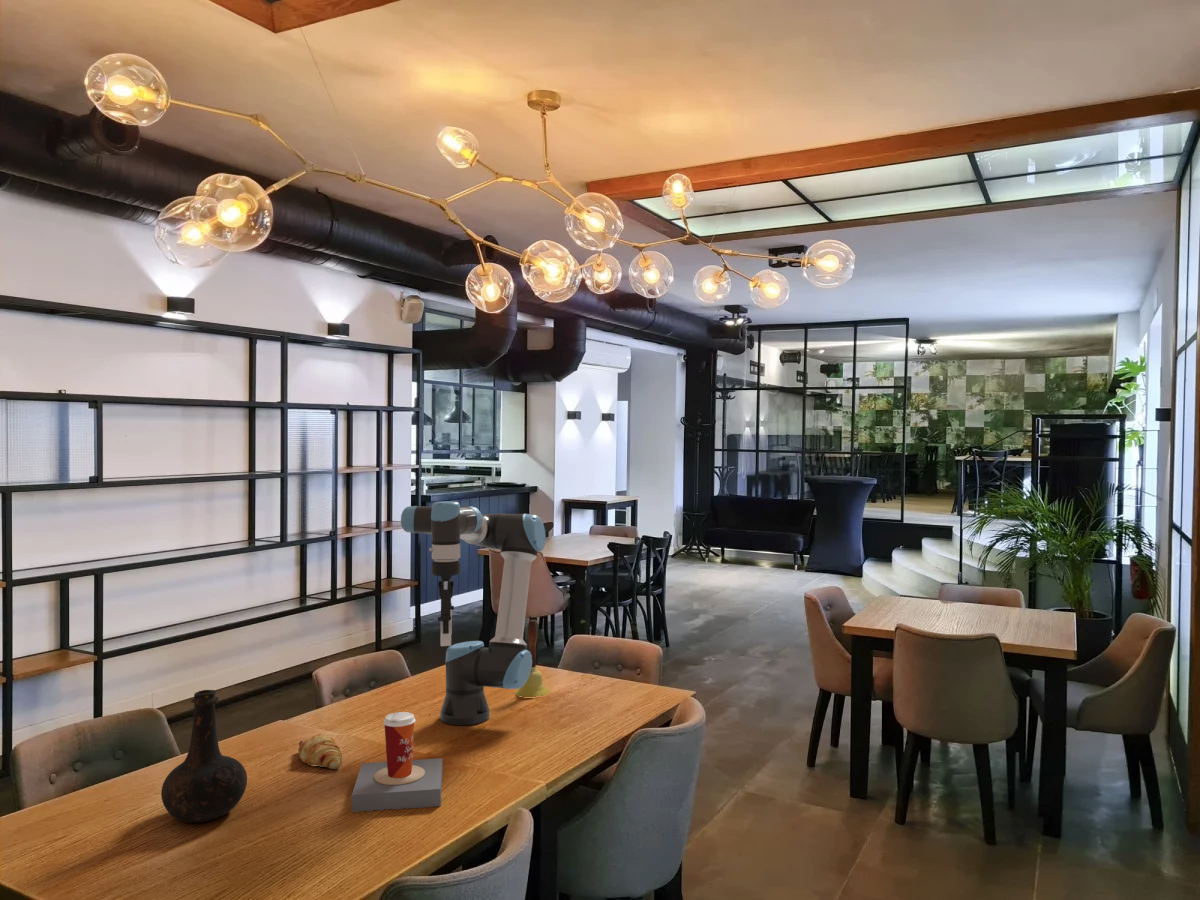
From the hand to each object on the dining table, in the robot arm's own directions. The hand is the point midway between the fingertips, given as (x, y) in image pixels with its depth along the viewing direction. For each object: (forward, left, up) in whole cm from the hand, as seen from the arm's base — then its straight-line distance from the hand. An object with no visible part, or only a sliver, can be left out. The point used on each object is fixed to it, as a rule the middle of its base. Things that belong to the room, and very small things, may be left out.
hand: (446, 640), depth 222 cm
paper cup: (+17, -11, -28) cm, 35 cm away
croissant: (-8, -34, -33) cm, 48 cm away
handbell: (-61, +28, -33) cm, 75 cm away
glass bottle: (+22, -54, -33) cm, 67 cm away
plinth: (+17, -11, -33) cm, 38 cm away
